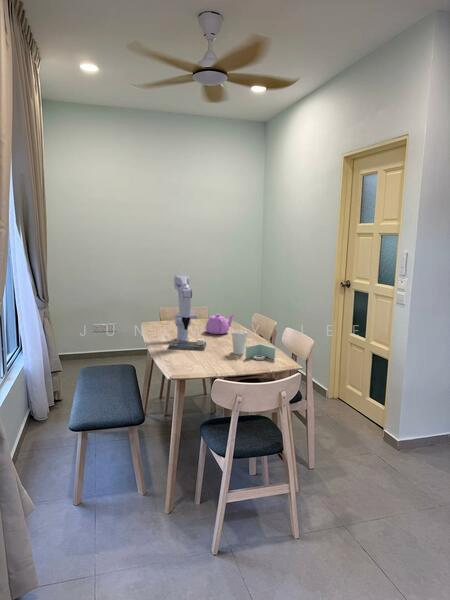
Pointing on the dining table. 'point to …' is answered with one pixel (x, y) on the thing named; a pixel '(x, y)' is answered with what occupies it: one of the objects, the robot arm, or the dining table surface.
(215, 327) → the teapot
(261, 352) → the l-shaped corner panel
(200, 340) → the fader
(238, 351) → the foam cup
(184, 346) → the fader panel
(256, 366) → the dining table surface
